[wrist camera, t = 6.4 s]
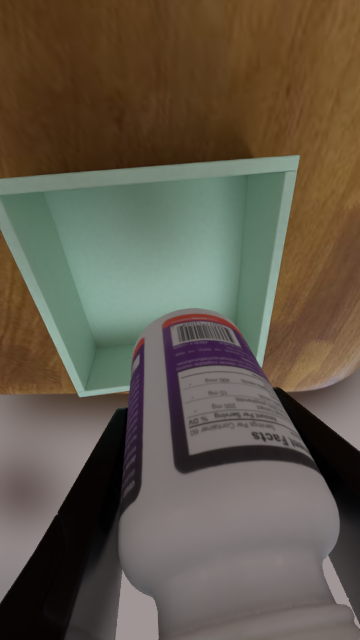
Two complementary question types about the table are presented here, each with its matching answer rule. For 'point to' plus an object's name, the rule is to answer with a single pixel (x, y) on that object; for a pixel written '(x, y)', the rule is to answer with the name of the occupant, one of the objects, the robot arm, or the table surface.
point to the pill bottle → (222, 493)
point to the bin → (147, 253)
